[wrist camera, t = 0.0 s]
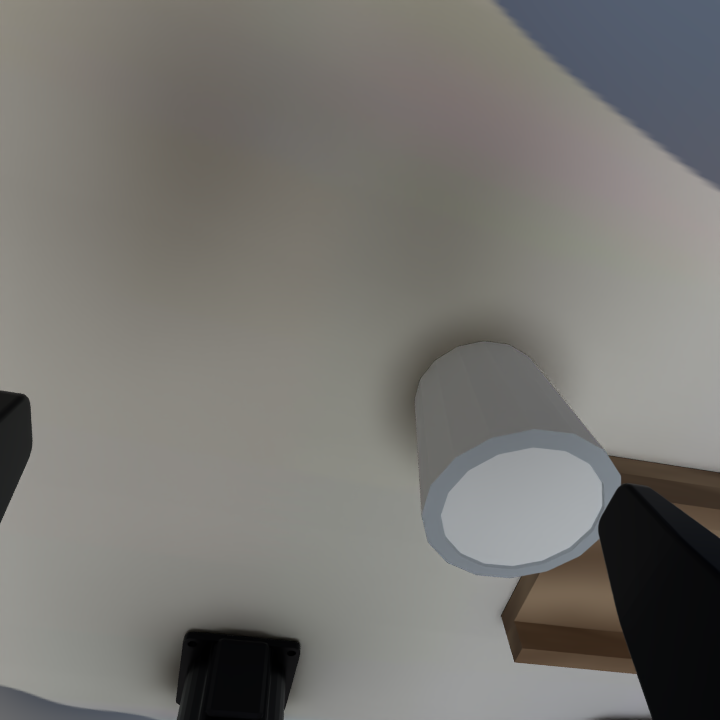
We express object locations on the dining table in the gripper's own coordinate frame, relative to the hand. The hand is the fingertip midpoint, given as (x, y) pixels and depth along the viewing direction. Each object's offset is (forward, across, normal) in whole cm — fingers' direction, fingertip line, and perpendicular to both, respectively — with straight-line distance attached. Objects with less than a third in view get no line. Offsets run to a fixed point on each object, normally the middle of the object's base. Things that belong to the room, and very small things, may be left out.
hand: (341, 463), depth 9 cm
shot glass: (+15, -8, +7) cm, 18 cm away
